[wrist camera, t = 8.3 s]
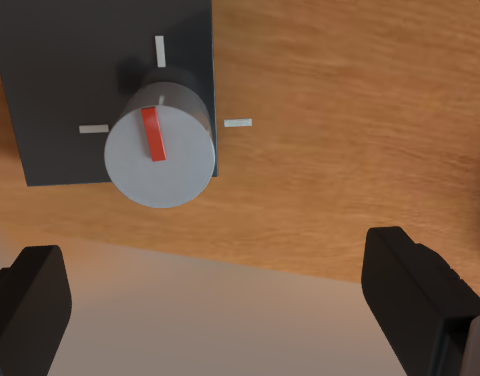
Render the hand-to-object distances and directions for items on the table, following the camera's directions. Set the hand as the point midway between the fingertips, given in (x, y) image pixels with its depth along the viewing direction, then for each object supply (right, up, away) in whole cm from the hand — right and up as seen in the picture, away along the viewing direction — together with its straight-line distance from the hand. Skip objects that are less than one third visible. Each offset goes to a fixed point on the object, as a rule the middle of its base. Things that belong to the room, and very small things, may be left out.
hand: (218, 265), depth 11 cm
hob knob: (-3, +5, +10) cm, 12 cm away
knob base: (-5, +9, +12) cm, 16 cm away
